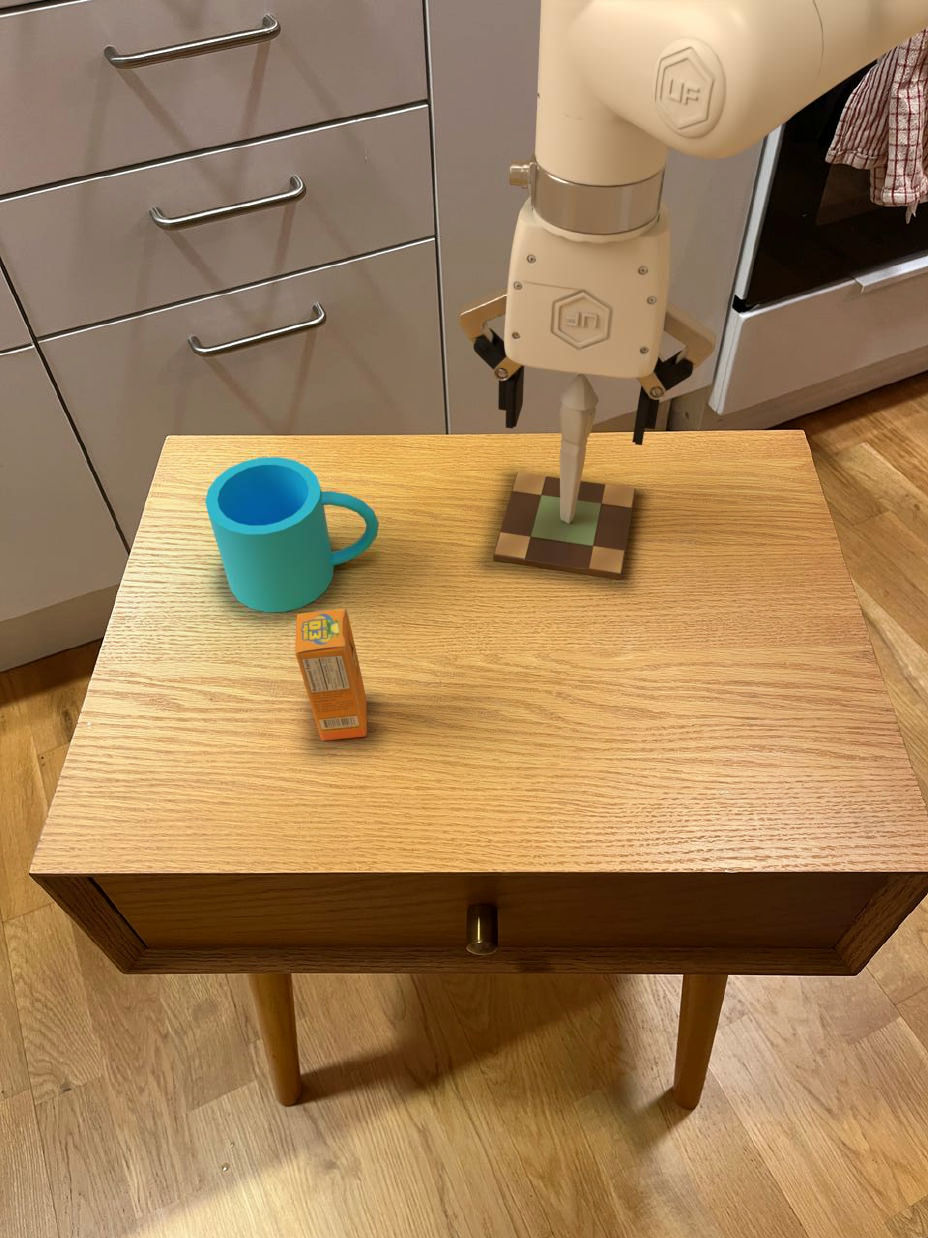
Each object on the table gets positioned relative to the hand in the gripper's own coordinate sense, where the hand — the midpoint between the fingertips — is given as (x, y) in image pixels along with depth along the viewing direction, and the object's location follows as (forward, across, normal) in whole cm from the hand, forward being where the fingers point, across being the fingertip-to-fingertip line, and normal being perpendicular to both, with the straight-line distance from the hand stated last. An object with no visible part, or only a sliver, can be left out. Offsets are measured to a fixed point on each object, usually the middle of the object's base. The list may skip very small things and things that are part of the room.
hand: (576, 424), depth 70 cm
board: (+10, 0, 0) cm, 10 cm away
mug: (+10, -19, -9) cm, 24 cm away
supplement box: (+10, -12, -22) cm, 27 cm away
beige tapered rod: (+10, 0, 0) cm, 10 cm away
